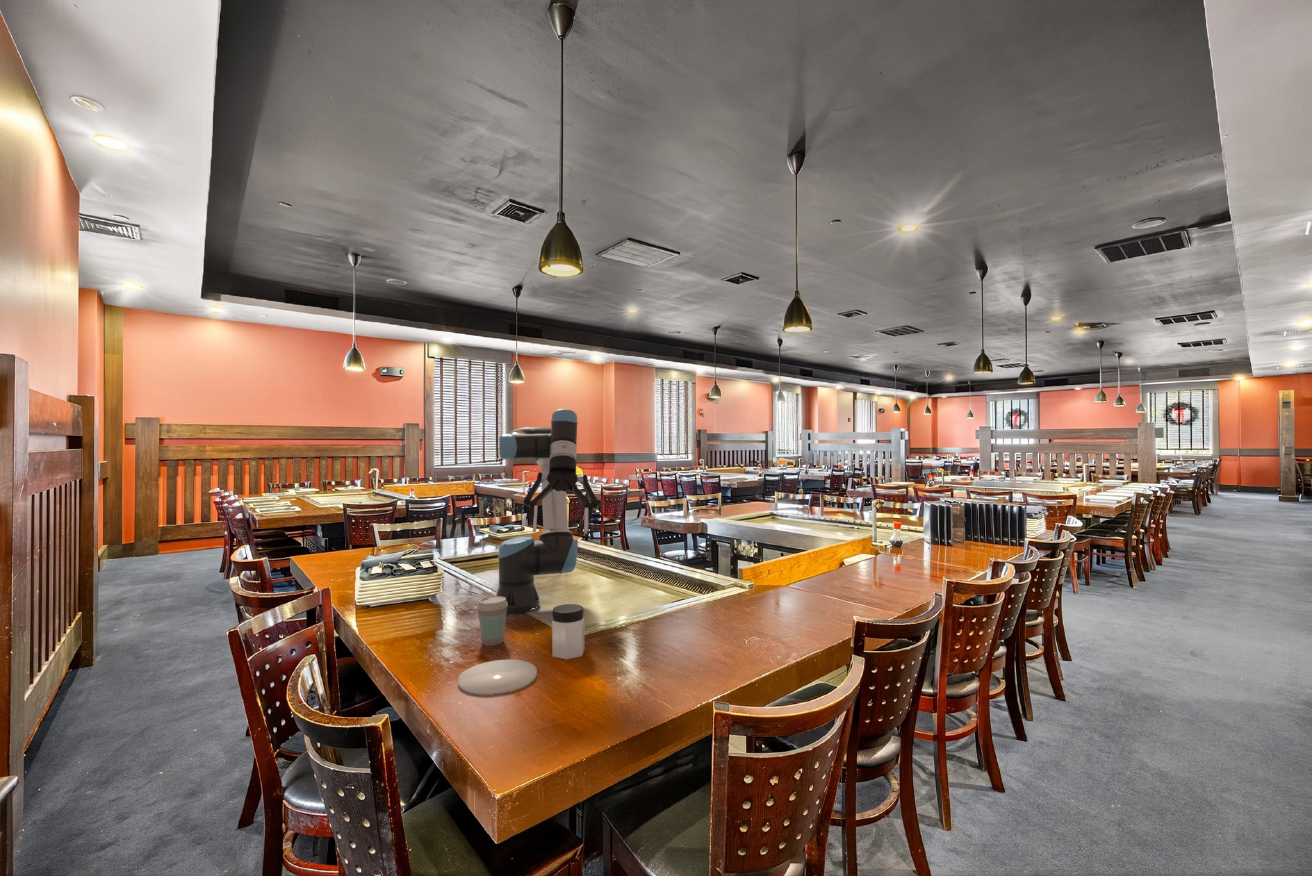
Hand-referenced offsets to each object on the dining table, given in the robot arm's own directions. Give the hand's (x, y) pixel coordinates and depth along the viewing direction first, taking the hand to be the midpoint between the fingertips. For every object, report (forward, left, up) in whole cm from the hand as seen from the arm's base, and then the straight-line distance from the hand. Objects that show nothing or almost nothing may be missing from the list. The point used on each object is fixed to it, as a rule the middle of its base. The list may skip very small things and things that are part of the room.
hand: (560, 531), depth 151 cm
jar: (+1, +1, -33) cm, 33 cm away
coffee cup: (-21, -10, -33) cm, 40 cm away
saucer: (+3, -20, -32) cm, 38 cm away
